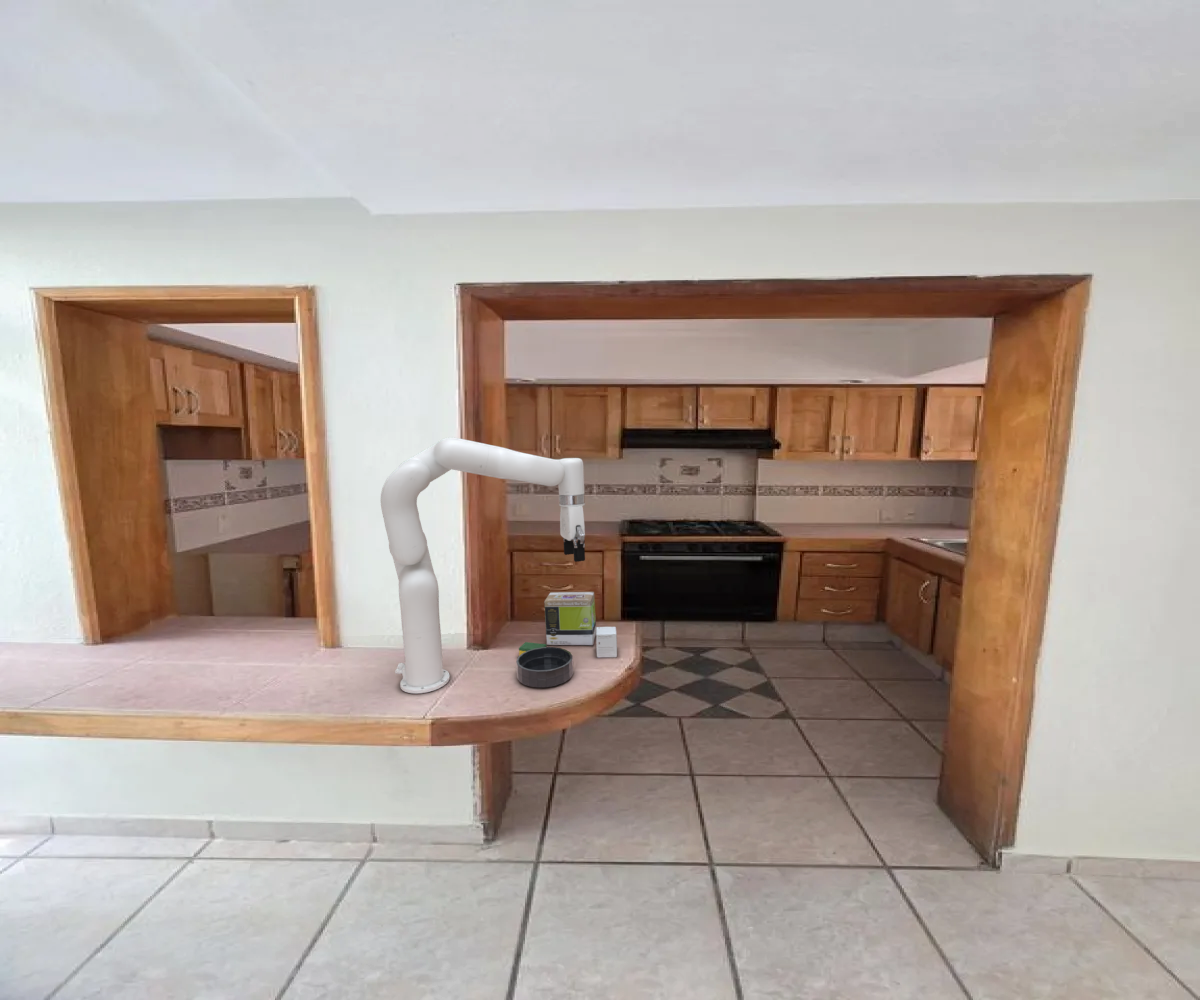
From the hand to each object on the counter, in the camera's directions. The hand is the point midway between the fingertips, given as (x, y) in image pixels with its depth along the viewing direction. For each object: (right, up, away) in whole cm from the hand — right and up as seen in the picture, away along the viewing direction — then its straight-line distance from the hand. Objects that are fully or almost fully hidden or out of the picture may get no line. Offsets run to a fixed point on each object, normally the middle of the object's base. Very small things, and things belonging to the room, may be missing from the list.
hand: (574, 557), depth 147 cm
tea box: (-1, -28, +13) cm, 31 cm away
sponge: (-12, -30, +2) cm, 32 cm away
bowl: (-7, -31, -11) cm, 34 cm away
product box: (+10, -29, +2) cm, 31 cm away
